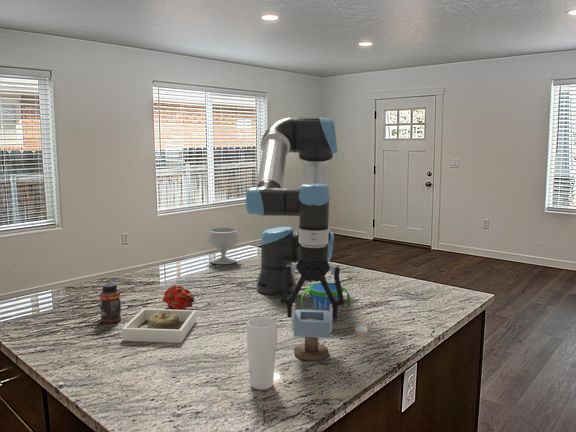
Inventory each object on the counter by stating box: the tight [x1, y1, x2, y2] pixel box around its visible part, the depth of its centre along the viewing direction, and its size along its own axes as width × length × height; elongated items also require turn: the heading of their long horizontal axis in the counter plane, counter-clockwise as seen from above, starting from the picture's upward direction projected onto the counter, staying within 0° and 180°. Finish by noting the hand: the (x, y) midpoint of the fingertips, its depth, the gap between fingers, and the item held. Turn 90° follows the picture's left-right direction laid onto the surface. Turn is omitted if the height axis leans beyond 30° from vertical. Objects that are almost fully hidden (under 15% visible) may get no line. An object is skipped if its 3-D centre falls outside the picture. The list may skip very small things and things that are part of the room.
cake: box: [147, 311, 182, 330], centre depth 145 cm, size 10×10×5 cm
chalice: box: [207, 227, 240, 265], centre depth 225 cm, size 14×14×15 cm
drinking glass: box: [246, 316, 278, 391], centre depth 110 cm, size 7×7×15 cm
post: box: [293, 318, 329, 362], centre depth 128 cm, size 9×9×9 cm
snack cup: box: [300, 282, 351, 322], centre depth 154 cm, size 16×10×10 cm
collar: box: [293, 309, 331, 339], centre depth 127 cm, size 9×9×4 cm
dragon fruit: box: [161, 284, 196, 310], centre depth 161 cm, size 8×8×12 cm
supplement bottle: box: [99, 282, 122, 324], centre depth 150 cm, size 6×6×11 cm
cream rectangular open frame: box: [121, 308, 197, 344], centre depth 143 cm, size 17×17×4 cm
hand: (311, 329), depth 127 cm, fingers closed on collar, 9 cm apart
